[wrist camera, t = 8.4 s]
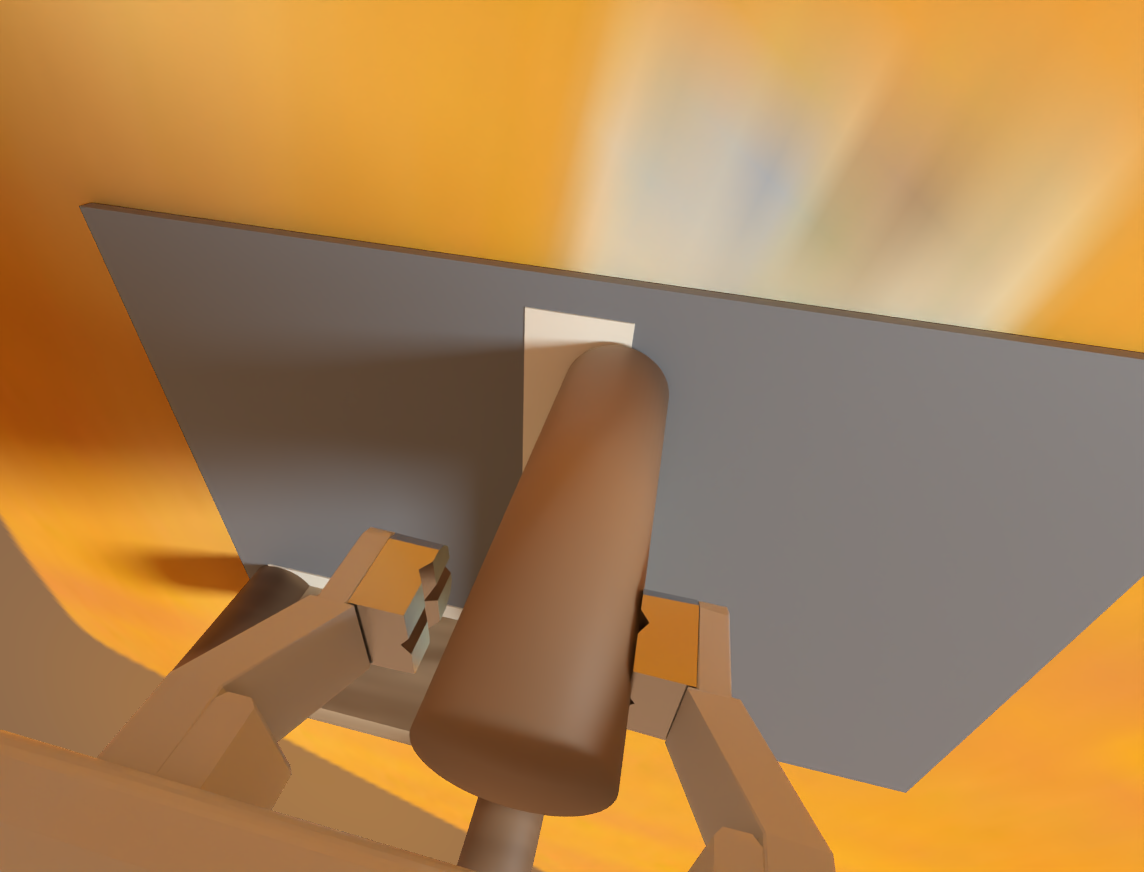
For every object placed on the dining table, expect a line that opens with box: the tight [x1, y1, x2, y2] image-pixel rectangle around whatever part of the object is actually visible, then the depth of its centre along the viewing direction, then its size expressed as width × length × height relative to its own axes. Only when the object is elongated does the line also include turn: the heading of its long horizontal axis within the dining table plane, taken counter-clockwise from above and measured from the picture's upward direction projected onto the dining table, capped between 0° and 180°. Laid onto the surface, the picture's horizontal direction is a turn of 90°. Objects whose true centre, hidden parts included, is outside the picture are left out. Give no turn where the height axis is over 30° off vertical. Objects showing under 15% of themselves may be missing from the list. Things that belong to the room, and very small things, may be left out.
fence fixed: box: [171, 565, 544, 872], centre depth 22 cm, size 3×16×9 cm, turn 86°
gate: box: [409, 345, 669, 816], centre depth 15 cm, size 3×14×10 cm, turn 171°
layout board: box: [79, 203, 1144, 793], centre depth 21 cm, size 22×32×1 cm
